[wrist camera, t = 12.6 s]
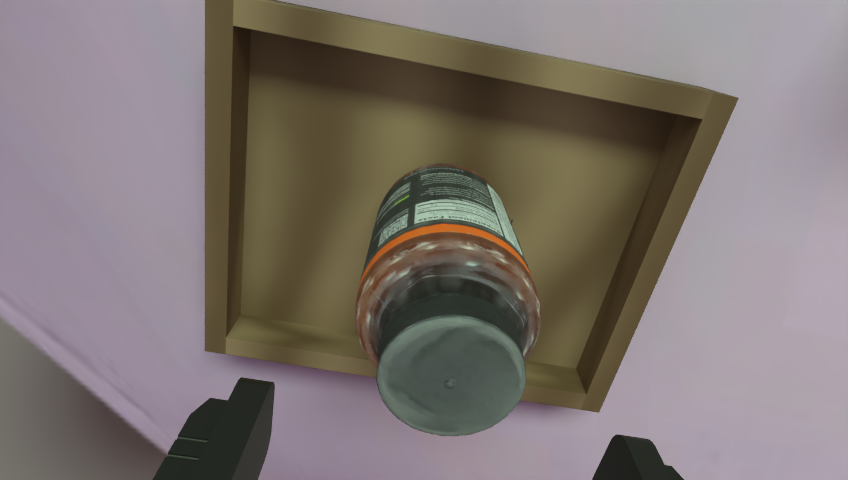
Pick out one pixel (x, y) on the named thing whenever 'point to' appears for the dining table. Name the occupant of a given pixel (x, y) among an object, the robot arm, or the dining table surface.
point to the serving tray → (431, 144)
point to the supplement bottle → (447, 303)
